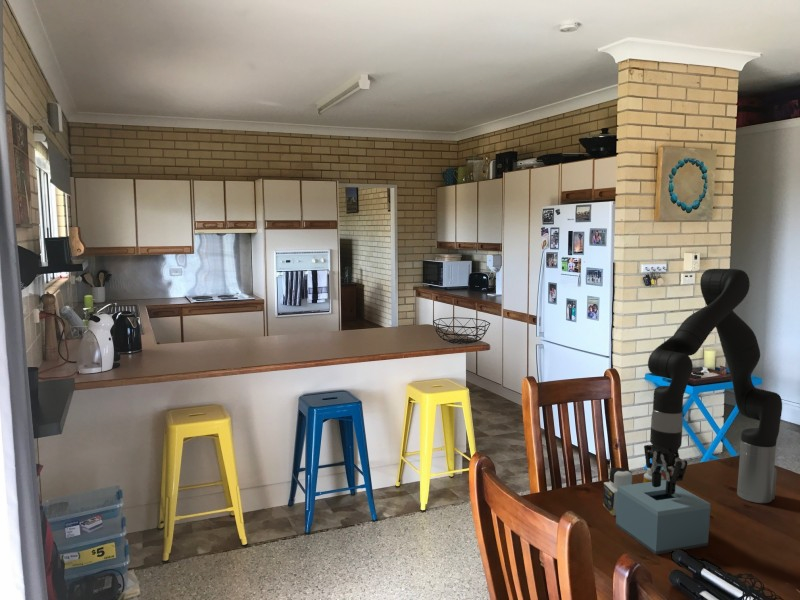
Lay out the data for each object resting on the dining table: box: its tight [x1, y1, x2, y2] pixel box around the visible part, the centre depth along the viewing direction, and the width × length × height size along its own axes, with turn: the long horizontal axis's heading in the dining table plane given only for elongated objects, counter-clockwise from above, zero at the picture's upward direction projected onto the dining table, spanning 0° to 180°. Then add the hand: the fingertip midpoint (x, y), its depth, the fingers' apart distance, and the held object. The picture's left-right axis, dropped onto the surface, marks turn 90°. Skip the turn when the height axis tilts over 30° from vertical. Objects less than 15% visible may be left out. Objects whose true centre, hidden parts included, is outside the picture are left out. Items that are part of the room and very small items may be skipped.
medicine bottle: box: [602, 467, 633, 517], centre depth 181 cm, size 7×7×12 cm
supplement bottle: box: [642, 467, 665, 483], centre depth 186 cm, size 6×6×10 cm
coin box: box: [615, 479, 712, 555], centre depth 166 cm, size 16×16×11 cm
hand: (662, 489), depth 165 cm, fingers open, 4 cm apart
